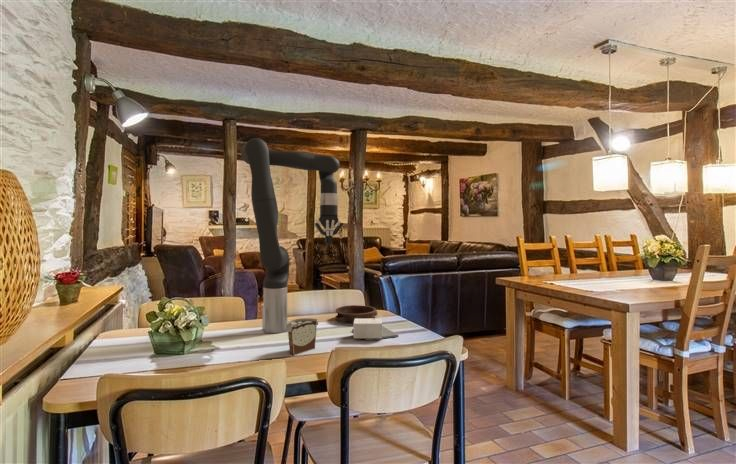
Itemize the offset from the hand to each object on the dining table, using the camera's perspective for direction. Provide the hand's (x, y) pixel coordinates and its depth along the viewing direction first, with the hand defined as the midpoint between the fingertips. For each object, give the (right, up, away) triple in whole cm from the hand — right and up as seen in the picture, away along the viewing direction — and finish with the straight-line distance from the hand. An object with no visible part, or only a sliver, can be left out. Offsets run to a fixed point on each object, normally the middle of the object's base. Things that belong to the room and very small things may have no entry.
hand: (328, 244), depth 181 cm
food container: (-7, -35, -39) cm, 52 cm away
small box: (+11, -30, -24) cm, 40 cm away
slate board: (+20, -34, -19) cm, 43 cm away
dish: (+12, -33, +4) cm, 36 cm away
